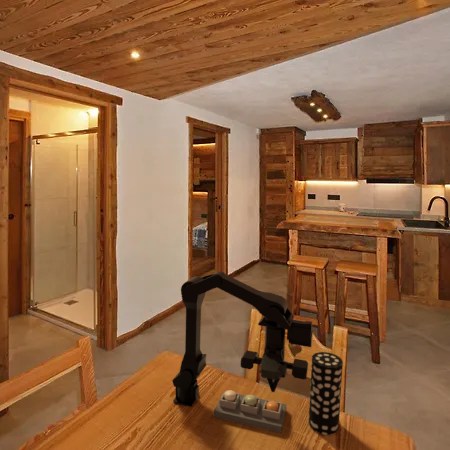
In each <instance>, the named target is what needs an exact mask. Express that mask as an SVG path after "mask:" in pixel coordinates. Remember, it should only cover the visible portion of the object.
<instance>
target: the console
mask: <svg viewBox="0 0 450 450" xmlns="http://www.w3.org/2000/svg"><path fill="white" fill-rule="evenodd" d="M226 391H227V390H224V391H223V392H222V394H221V396H220V398H219V399H218V401H217V404H216V405H215V407H214V409H213V418H217V419H221V420H225V421H229V422H232V423H233V422H234V423H237V424H238V423H239V424H242V425H246V426H250V427H254V428H259V429H262V430H267V431H270V432H275V433H279V434H282V431H283V428H284V427H283V426H284V424H285V423H284V422H285V418H286V412H287V404H286V403H283V402H280V401H276V400H272V399H267V398H266V399H263V398H261V397H257V396H256V398H257V402H256V407H254V406H249V405H245V397H246V396H247V395H248V394H241V393H239V392H235V393H236V400H235V402H232V401H227V400H224V395H225V392H226ZM269 401H274V402H276V403H277V404H278V412H276V411H272V410H267V409H266V407H267V402H269Z"/></svg>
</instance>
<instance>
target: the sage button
mask: <svg viewBox="0 0 450 450" xmlns="http://www.w3.org/2000/svg"><path fill="white" fill-rule="evenodd" d="M246 395H247V396H246V397H245V405H249V406H254V407H256V402H257V398H256V397H257V396H256V395H253V394H246Z"/></svg>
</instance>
